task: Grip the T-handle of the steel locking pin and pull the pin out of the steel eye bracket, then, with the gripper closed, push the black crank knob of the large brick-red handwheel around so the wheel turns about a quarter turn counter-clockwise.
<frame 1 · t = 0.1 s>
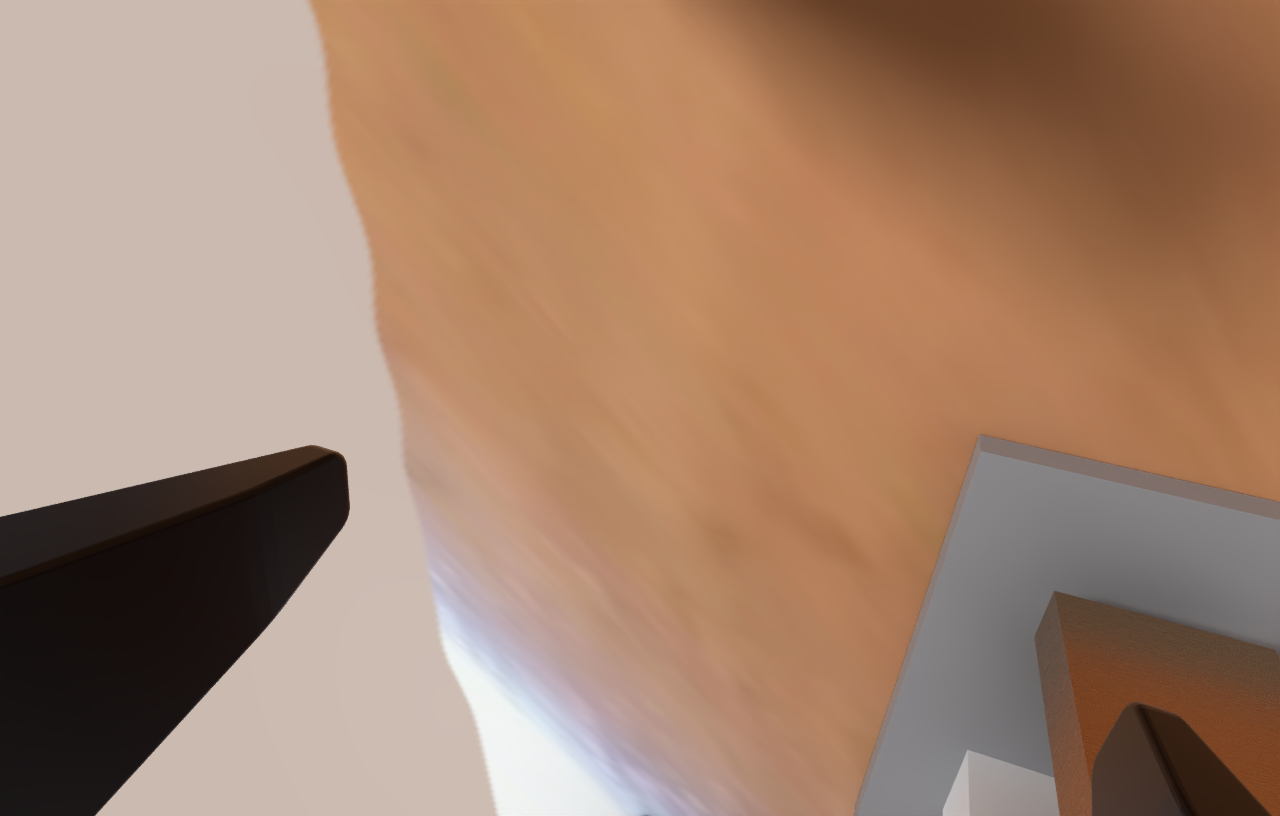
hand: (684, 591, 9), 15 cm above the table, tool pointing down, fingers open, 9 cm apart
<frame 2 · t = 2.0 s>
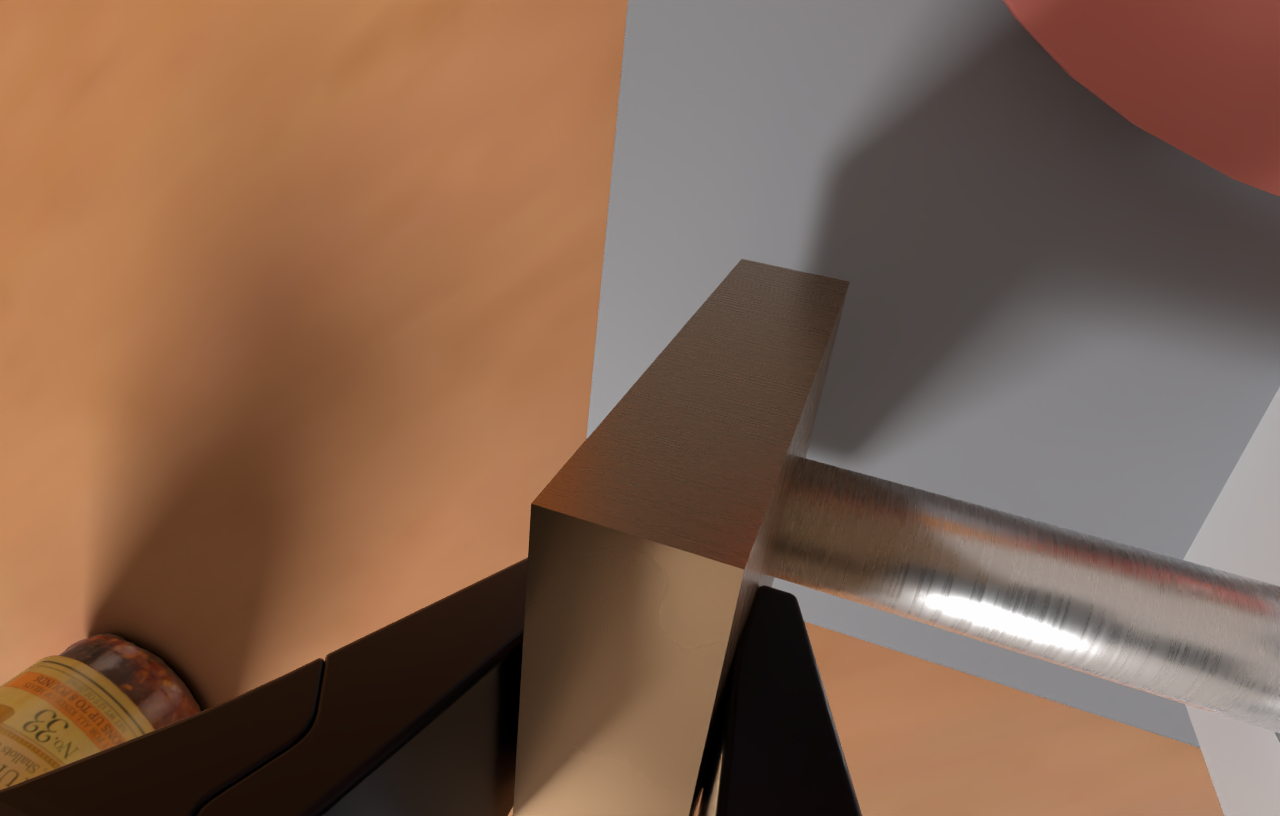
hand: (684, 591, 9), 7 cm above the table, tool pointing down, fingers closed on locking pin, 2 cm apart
locking pin: (1213, 694, 8), point 6 cm above the table, slide at 0.0 cm, touching gripper
sauce bottle: (149, 685, 28), on the table
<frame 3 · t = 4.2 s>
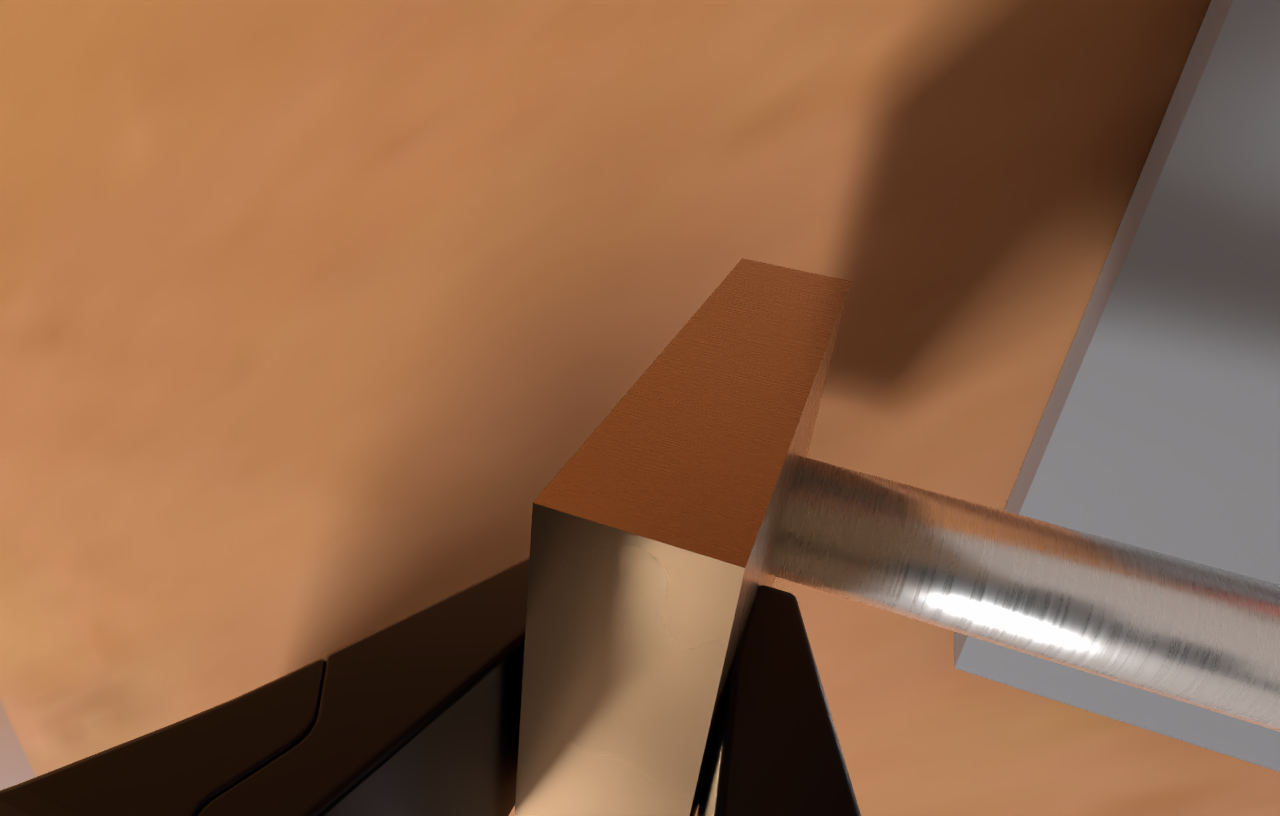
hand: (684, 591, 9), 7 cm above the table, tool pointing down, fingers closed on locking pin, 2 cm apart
locking pin: (1213, 693, 8), point 6 cm above the table, slide at 7.9 cm, touching gripper
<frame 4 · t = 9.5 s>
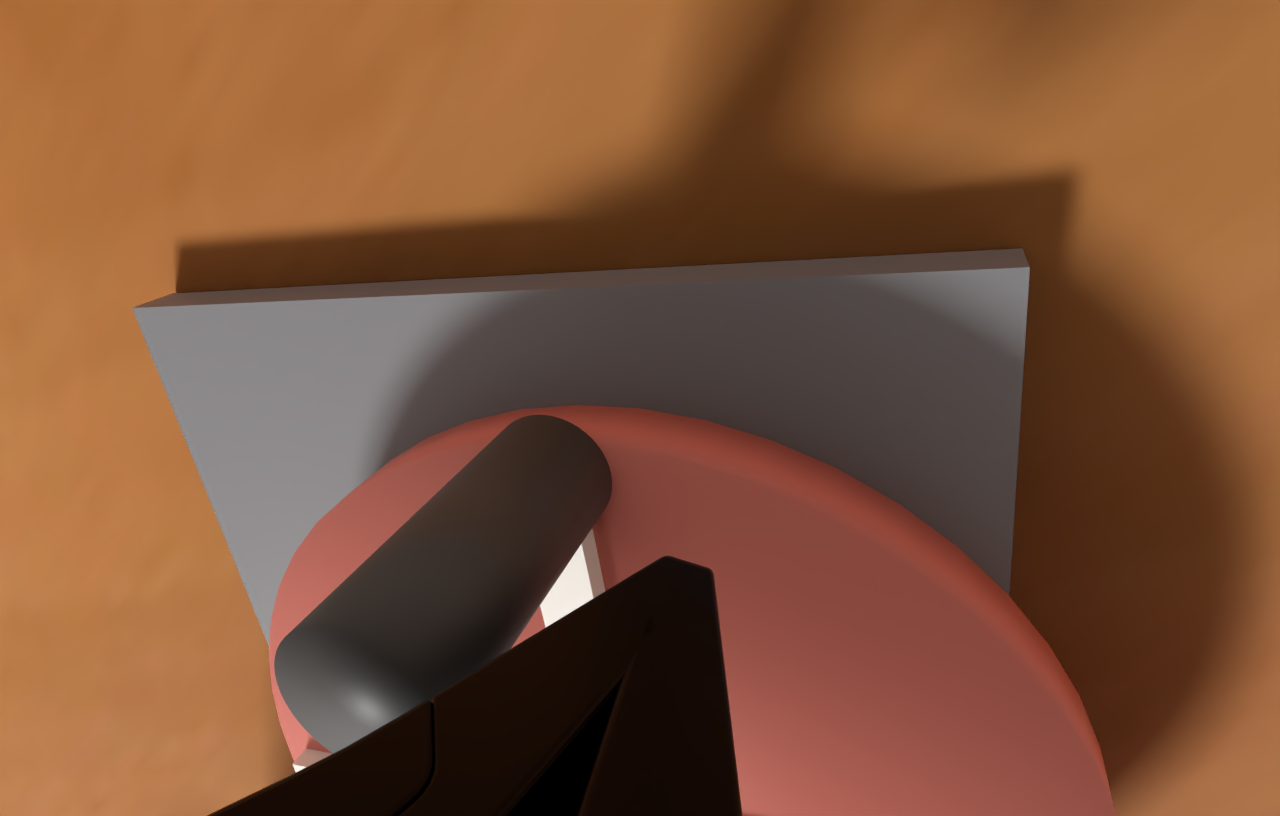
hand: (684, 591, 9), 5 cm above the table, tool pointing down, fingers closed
mounting plate: (620, 806, 19), on the table
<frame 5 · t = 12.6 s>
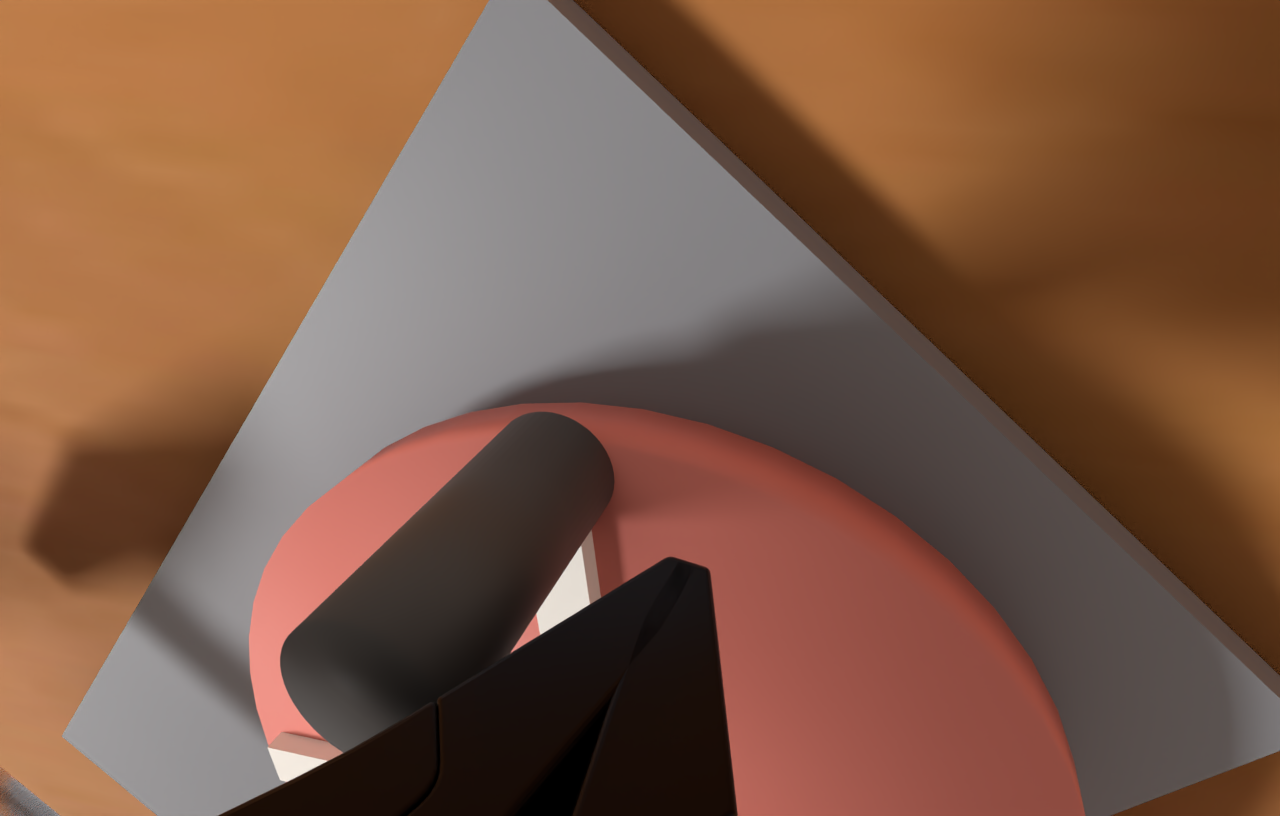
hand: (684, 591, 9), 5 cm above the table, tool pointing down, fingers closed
mounting plate: (494, 703, 19), on the table
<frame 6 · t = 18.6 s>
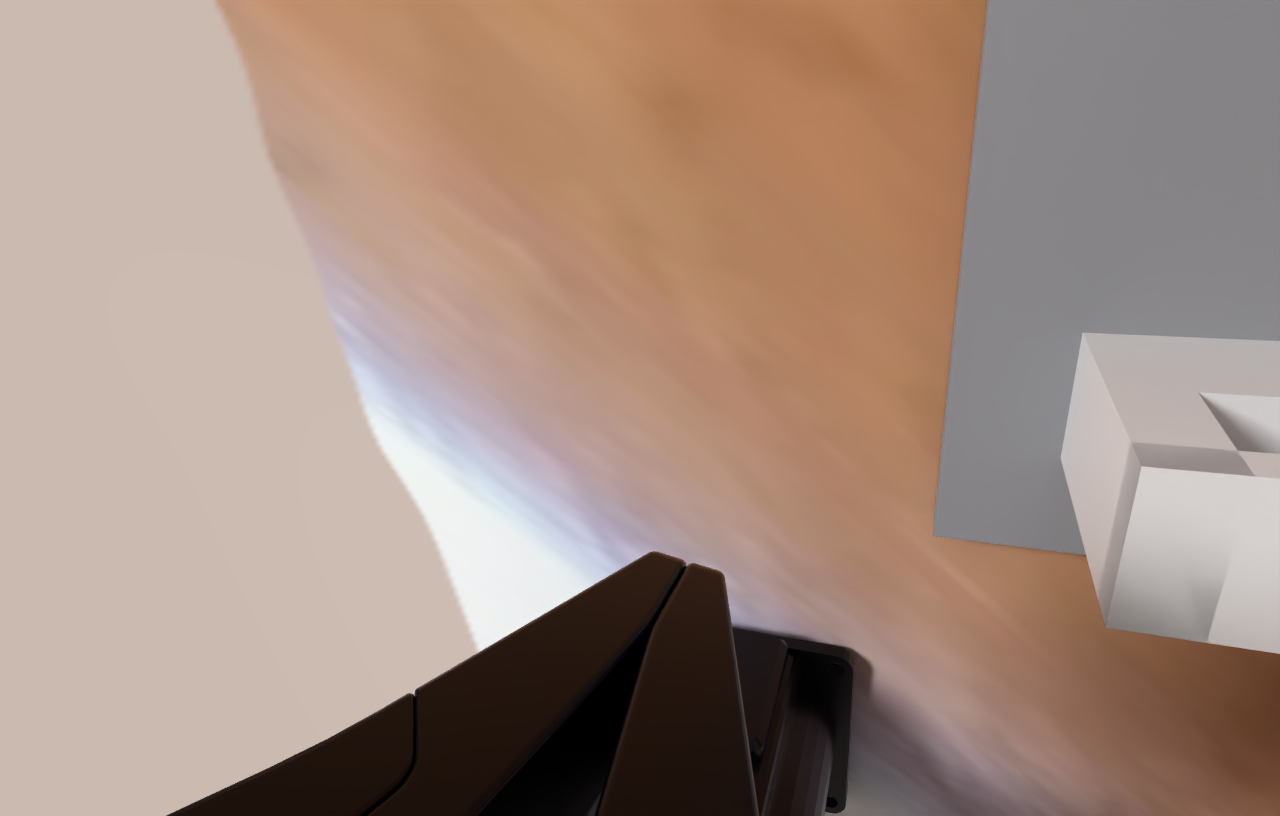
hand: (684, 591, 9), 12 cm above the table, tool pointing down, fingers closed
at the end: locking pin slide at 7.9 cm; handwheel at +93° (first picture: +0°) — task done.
